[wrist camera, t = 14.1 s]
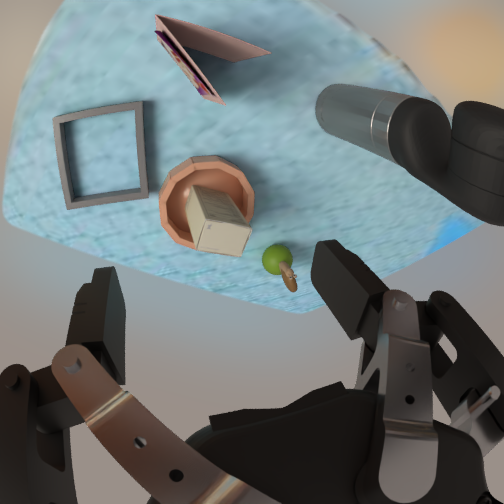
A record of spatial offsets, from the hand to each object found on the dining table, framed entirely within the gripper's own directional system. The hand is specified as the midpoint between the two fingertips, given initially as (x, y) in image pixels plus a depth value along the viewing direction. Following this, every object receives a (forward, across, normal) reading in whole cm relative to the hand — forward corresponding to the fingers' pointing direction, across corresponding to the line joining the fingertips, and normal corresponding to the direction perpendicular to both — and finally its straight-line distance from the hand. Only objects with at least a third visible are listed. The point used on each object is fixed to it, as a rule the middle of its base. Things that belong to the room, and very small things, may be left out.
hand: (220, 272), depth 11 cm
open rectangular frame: (+33, +11, +2) cm, 35 cm away
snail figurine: (+33, -16, +22) cm, 43 cm away
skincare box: (+33, -4, +11) cm, 35 cm away
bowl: (+33, -4, +11) cm, 35 cm away
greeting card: (+33, -3, -11) cm, 35 cm away
